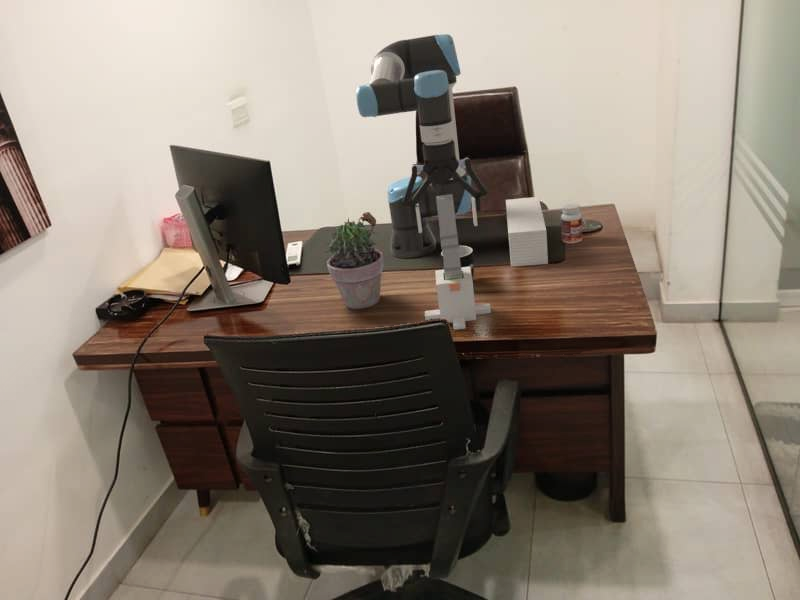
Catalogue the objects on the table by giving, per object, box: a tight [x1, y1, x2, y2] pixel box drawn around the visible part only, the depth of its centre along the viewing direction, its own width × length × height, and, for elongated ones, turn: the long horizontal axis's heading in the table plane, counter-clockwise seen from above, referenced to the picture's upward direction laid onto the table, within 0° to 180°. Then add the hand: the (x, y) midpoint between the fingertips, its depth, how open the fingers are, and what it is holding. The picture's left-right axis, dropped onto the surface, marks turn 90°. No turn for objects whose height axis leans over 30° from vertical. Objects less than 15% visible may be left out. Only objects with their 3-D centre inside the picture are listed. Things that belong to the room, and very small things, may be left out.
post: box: [436, 194, 462, 280], centre depth 166 cm, size 4×4×24 cm
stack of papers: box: [505, 196, 549, 268], centre depth 208 cm, size 32×11×11 cm, turn 173°
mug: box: [440, 245, 475, 281], centre depth 190 cm, size 12×9×10 cm
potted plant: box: [320, 211, 387, 310], centre depth 184 cm, size 18×20×25 cm
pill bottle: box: [560, 202, 583, 245], centre depth 207 cm, size 6×6×11 cm
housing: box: [424, 266, 492, 331], centre depth 172 cm, size 17×17×11 cm
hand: (447, 227), depth 164 cm, fingers open, 13 cm apart
